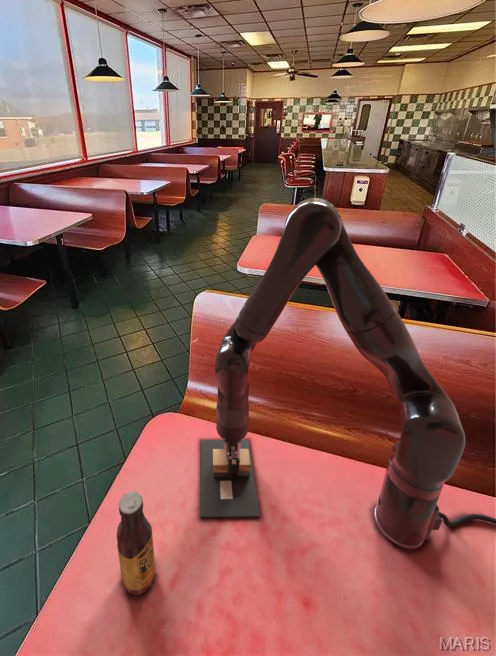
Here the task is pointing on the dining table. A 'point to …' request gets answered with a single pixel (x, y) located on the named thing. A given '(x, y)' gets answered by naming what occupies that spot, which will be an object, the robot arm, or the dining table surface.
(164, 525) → the dining table surface
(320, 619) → the dining table surface
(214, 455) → the eraser
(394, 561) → the dining table surface
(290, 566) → the dining table surface
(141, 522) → the sauce bottle
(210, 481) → the slate board
